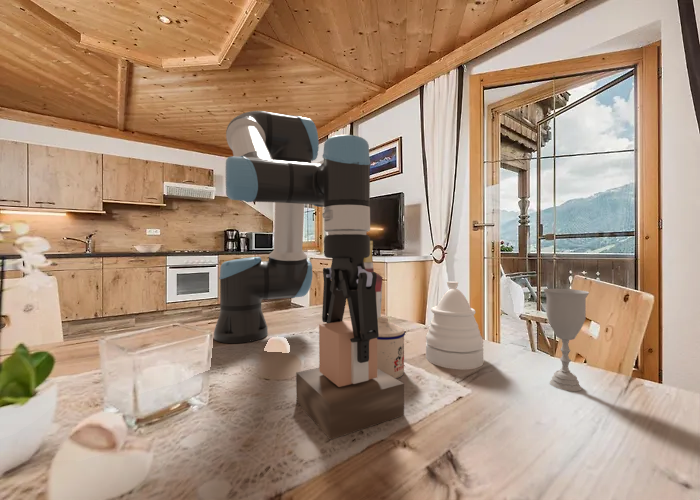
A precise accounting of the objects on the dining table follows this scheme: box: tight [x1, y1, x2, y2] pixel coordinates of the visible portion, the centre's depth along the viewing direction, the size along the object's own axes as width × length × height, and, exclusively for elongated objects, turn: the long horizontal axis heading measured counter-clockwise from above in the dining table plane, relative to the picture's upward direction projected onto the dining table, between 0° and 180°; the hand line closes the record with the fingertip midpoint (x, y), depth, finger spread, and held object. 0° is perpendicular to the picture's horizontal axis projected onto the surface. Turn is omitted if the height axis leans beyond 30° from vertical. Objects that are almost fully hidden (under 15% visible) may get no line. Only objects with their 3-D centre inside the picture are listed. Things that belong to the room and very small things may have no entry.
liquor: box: [357, 240, 383, 321], centre depth 81 cm, size 7×7×28 cm
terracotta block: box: [318, 319, 377, 387], centre depth 54 cm, size 7×7×8 cm
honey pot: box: [425, 281, 484, 370], centre depth 77 cm, size 13×13×18 cm
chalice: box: [543, 288, 590, 392], centre depth 62 cm, size 7×7×18 cm
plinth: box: [295, 367, 405, 440], centre depth 54 cm, size 13×13×5 cm
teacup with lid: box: [377, 316, 406, 379], centre depth 70 cm, size 12×9×12 cm
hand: (347, 372), depth 54 cm, fingers closed on terracotta block, 7 cm apart
